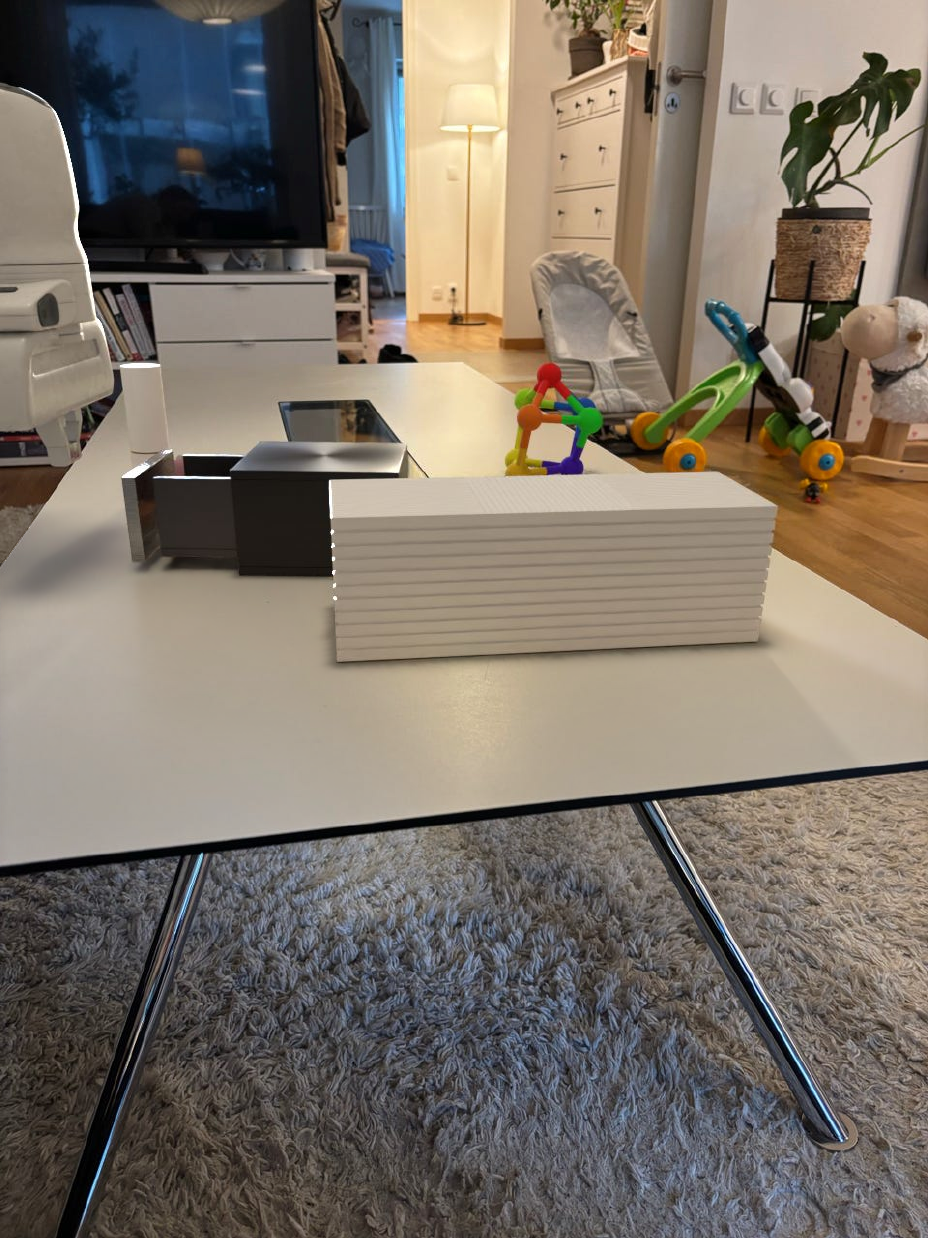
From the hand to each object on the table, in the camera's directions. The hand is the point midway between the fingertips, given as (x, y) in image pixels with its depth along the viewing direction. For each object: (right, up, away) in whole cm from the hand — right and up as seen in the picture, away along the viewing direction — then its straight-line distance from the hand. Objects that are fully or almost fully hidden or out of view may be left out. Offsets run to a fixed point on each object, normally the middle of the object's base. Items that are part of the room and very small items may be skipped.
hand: (66, 463), depth 82 cm
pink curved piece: (+6, -2, +21) cm, 22 cm away
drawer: (+12, -7, +5) cm, 15 cm away
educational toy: (+47, +4, +36) cm, 59 cm away
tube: (0, 0, +24) cm, 24 cm away
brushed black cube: (+23, -8, +6) cm, 25 cm away
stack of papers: (+42, -15, -10) cm, 45 cm away
